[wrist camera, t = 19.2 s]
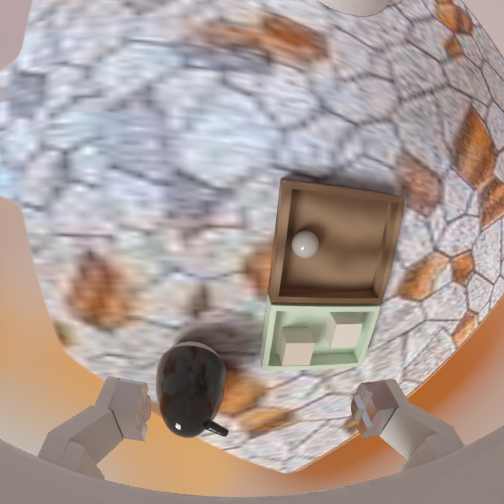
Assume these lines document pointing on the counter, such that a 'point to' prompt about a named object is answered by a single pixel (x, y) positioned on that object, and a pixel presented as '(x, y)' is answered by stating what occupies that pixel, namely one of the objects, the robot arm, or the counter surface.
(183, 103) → the counter surface
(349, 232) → the walnut crate
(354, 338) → the small beige block
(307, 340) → the beige cube
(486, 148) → the counter surface
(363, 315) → the green tray
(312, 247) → the round pebble
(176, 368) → the black rounded cone
